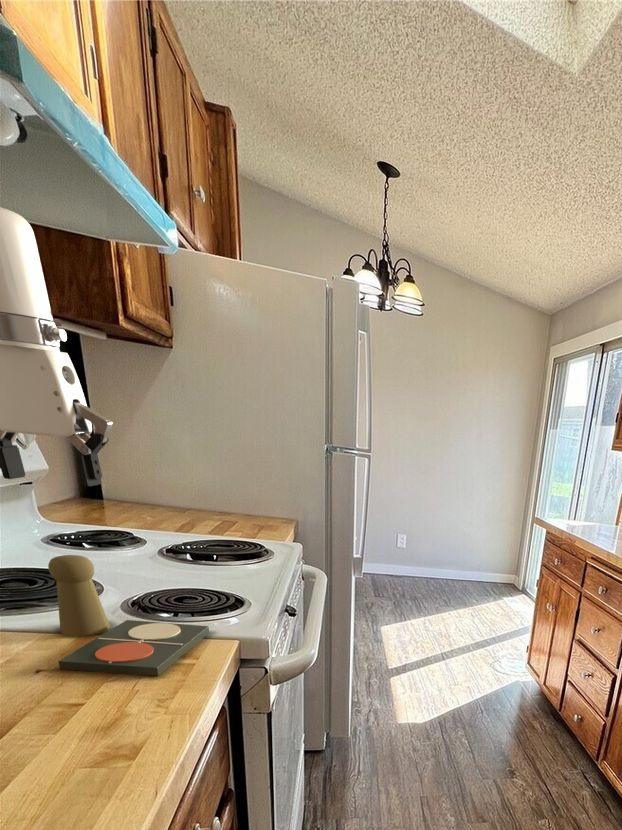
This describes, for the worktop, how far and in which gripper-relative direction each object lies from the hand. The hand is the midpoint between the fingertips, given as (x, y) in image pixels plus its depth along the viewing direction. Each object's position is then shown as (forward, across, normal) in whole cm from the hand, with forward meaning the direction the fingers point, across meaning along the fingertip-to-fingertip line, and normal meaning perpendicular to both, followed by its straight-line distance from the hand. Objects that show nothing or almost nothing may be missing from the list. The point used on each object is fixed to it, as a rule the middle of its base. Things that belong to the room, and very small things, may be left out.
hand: (54, 481), depth 75 cm
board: (+21, -11, +7) cm, 25 cm away
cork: (+21, 0, 0) cm, 21 cm away
